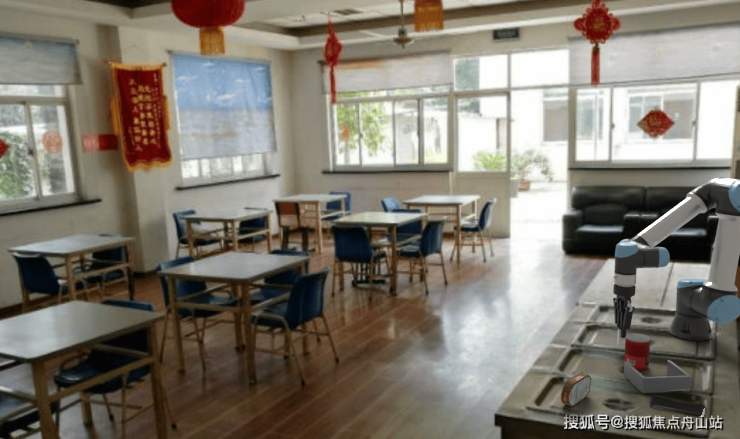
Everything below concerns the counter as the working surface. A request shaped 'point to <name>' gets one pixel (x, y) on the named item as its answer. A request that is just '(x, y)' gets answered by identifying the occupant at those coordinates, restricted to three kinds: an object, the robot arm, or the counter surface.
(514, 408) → the counter surface
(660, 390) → the box
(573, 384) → the tin
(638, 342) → the canned food
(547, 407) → the counter surface
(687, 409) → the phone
